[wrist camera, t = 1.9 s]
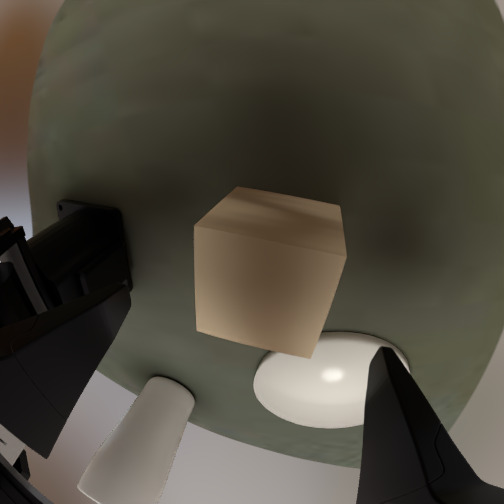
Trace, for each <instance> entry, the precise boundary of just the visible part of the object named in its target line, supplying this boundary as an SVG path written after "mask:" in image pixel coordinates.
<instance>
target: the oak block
mask: <svg viewBox="0 0 504 504" xmlns="http://www.w3.org/2000/svg"><path fill="white" fill-rule="evenodd" d="M346 258H347V255H346V246H345V238H344V230H343V223H342V216H341V210H340V206H339V205H334V204H330V203H325V202H320V201H315V200H310V199H305V198H300V197H295V196H290V195H285V194H279V193H274V192H268V191H262V190H257V189H251V188H245V187H238V186H237V187H236V188H235V189H234V190H233V191H231V192H230V193H229V194H228V195H227V196H226V197H225V198H224V199H222V200H221V201H220V202H219V203H218V204H217V205H216V206H215V207H214V208H213V209H211V210H210V211H209V212H208V213H207V214H206V215H205V216H204V217H203V218H202V219H201V220H200V221H198V222H197V223H196V224H195V225H194V272H195V304H196V325H197V331H199V332H202V333H206V334H209V335H213V336H216V337H220V338H223V339H227V340H231V341H234V342H238V343H242V344H246V345H250V346H254V347H258V348H262V349H266V350H271V351H275V352H279V353H284V354H289V355H293V356H298V357H303V358H308V359H311V356H312V354H313V352H314V349H315V347H316V344H317V341H318V339H319V336H320V334H321V331H322V328H323V326H324V323H325V320H326V318H327V315H328V312H329V309H330V307H331V304H332V301H333V298H334V295H335V292H336V289H337V286H338V283H339V280H340V277H341V274H342V271H343V267H344V264H345V261H346Z"/></svg>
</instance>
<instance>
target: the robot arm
mask: <svg viewBox="0 0 504 504" xmlns="http://www.w3.org/2000/svg"><path fill="white" fill-rule="evenodd" d="M57 210H58V216H59V221H57V222H56V223H54V224H52V225H51V226H49V227H48V228H46V229H44V230H43V231H41V232H40V233H38V234H36V235H35V236H33V237H32V238H30V239H29V240H27V241H26V239H25V232H24V229H23V226H19V227H14V225H13V224H12V223H11V221H10V220H9V219H8V217H7V216H6V217H3V218H2V219H0V261H1V263H0V504H53V503H52V502H51V501H50V500H49V499H47V498H46V497H45V496H44V495H43V494H41V493H40V492H39V491H38V490H37V489H36V488H35V487H33V486H32V485H31V484H30V483H29V482H28V479H29V477H30V472H29V467H28V462H27V456H26V451H25V450H24V447H25V446H26V445H27V446H28V447H30V448H31V449H32V450H34V451H35V452H36V453H38V454H40V455H41V456H42V457H44V458H45V459H47V458H48V457H49V455H50V453H51V451H52V449H53V446H54V444H55V443H56V441H57V439H58V437H59V435H60V433H61V431H62V429H63V427H64V425H65V423H66V420H67V419H68V417H69V415H70V413H71V412H72V410H73V408H74V406H75V404H76V403H77V401H78V399H79V397H80V395H81V394H82V392H83V390H84V388H85V387H86V385H87V383H88V382H89V379H90V378H91V376H92V375H93V373H94V371H95V370H96V368H97V366H98V365H99V363H100V362H101V360H102V358H103V357H104V355H105V353H106V352H107V350H108V349H109V347H110V345H111V344H112V342H113V340H114V339H115V337H116V335H117V333H118V331H119V329H120V327H121V325H122V323H123V321H124V319H125V317H126V315H127V313H128V311H129V310H130V307H131V298H130V292H131V290H132V284H131V279H130V274H129V268H128V262H127V255H126V249H125V242H124V234H123V226H122V217H121V213H120V212H119V210H118V209H116V208H112V207H106V206H100V205H94V204H89V203H82V202H76V201H70V200H64V199H63V200H60V201H58V202H57ZM113 216H114V217H113ZM356 504H504V489H503V488H500V487H496V486H493V485H490V484H488V483H486V482H484V481H482V480H481V479H480V478H479V477H478V476H477V475H476V473H475V472H474V470H473V469H472V468H471V467H470V465H469V464H468V462H467V461H466V459H465V458H464V456H463V455H462V454H461V452H460V451H459V450H458V448H457V446H456V445H455V444H454V442H453V441H452V439H451V437H450V436H449V434H448V433H447V431H446V429H445V428H444V426H443V424H441V421H440V420H439V418H438V416H437V415H436V413H435V412H434V410H433V408H432V407H431V405H430V404H429V402H428V400H427V399H426V397H425V396H424V394H423V393H422V391H421V390H420V388H419V387H418V385H417V384H416V382H415V381H414V379H413V378H412V376H411V375H410V373H409V372H408V370H407V369H406V367H405V366H404V364H403V363H402V361H401V360H400V358H399V357H398V356H397V354H396V353H395V351H394V350H393V349H392V348H391V347H386V346H381V347H379V349H378V350H377V352H376V353H375V355H374V357H373V358H372V360H371V362H370V365H369V372H368V382H367V390H366V398H365V407H364V431H363V447H362V460H361V471H360V479H359V487H358V494H357V501H356Z"/></svg>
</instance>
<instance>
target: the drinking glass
mask: <svg viewBox="0 0 504 504" xmlns="http://www.w3.org/2000/svg"><path fill="white" fill-rule="evenodd" d="M194 405H195V400H194V397H193V396H192V394H191V393H190V392H189V391H188V390H187V389H186V388H185V387H183V386H182V385H180V384H179V383H177V382H175V381H173V380H171V379H168V378H164V377H153V378H151V379H149V380H148V382H147V383H146V385H145V387H144V388H143V390H142V391H141V393H140V394H139V396H138V397H137V398H136V400H135V401H134V402H133V404H132V405H131V406H130V408H129V409H128V410H127V412H126V413H125V415H124V416H123V417H122V419H121V420H120V421H119V423H118V424H117V425H116V427H115V428H114V429H113V430H112V432H111V433H110V434H109V436H108V437H107V438H106V440H105V441H104V442H103V444H102V445H101V446H100V448H99V449H98V451H97V452H96V453H95V455H94V456H93V458H92V459H91V461H90V462H89V464H88V466H87V467H86V469H85V471H84V473H83V475H82V477H81V479H80V481H79V483H78V485H77V488H78V489H79V490H80V491H81V492H83V493H84V494H85V495H86V496H88V497H90V498H91V499H92V500H94V501H95V502H97V503H99V504H157V503H158V501H159V499H160V497H161V494H162V492H163V489H164V487H165V484H166V481H167V478H168V475H169V472H170V469H171V467H172V464H173V460H174V458H175V455H176V452H177V449H178V447H179V444H180V441H181V438H182V435H183V432H184V429H185V427H186V424H187V421H188V419H189V416H190V414H191V412H192V410H193V408H194Z"/></svg>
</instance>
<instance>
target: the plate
mask: <svg viewBox="0 0 504 504" xmlns="http://www.w3.org/2000/svg"><path fill="white" fill-rule="evenodd" d="M381 346H386V347H391V348H392V349H393V350H394V351H395V353H396V354H397V356H398V357H399V358H400V360H401V361H402V363H403V364H404V366H405V367H406V369H407V370H408V372H409V373H410V370H409V364H408V362H407V359H406V358H405V356H404V355H403V353H402V352H401V351H400V350H399V349H398V348H396V347H395V346H394V345H392V344H391V343H389V342H387V341H385V340H383V339H380V338H377V337H374V336H370V335H366V334H362V333H353V332H323V333H321V334H320V336H319V339H318V341H317V344H316V347H315V349H314V352H313V354H312V356H311V359H308V358H303V357H298V356H293V355H289V354H284V353H279V352H275V351H270V352H268V353H267V354H266V355H265V356H264V358H263V359H262V360H261V362H260V364H259V366H258V369H257V372H256V375H255V378H254V385H253V386H254V392H255V394H256V397H257V398H258V400H259V401H260V402H261V404H262V405H263V406H264V407H265V408H267V409H268V410H269V411H270V412H272V413H273V414H275V415H277V416H279V417H281V418H283V419H285V420H287V421H290V422H293V423H296V424H300V425H304V426H309V427H317V428H344V427H351V426H356V425H361V424H364V407H365V398H366V390H367V382H368V372H369V365H370V362H371V360H372V358H373V357H374V355H375V353H376V352H377V350H378V349H379V347H381Z"/></svg>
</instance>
